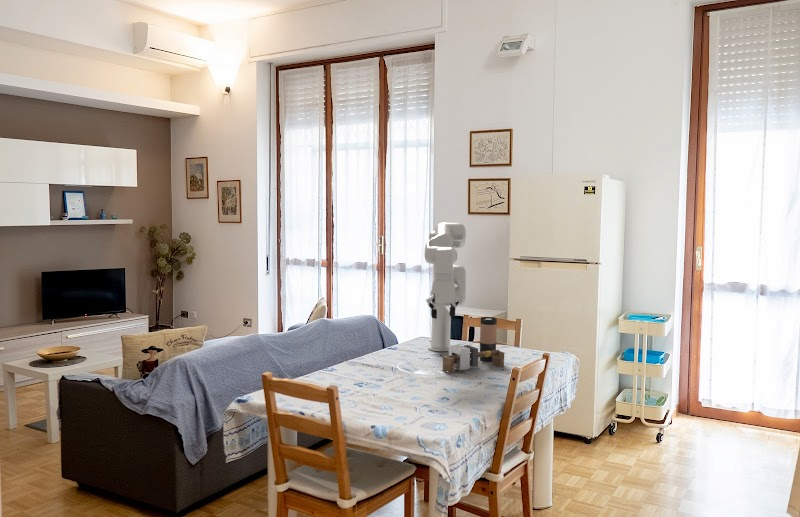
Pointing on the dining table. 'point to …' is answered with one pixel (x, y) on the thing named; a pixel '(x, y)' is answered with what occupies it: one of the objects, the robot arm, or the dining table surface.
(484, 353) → the dowel rail
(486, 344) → the travel mug
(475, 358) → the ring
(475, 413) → the dining table surface
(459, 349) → the sleeve
